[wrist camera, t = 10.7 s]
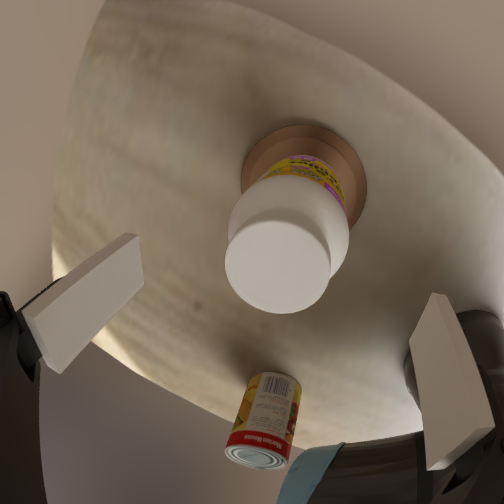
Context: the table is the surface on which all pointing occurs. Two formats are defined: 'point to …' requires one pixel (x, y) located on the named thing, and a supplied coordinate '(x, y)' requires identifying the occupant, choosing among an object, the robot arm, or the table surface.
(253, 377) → the canned food
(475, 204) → the table surface
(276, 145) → the plinth
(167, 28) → the table surface
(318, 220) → the supplement bottle
